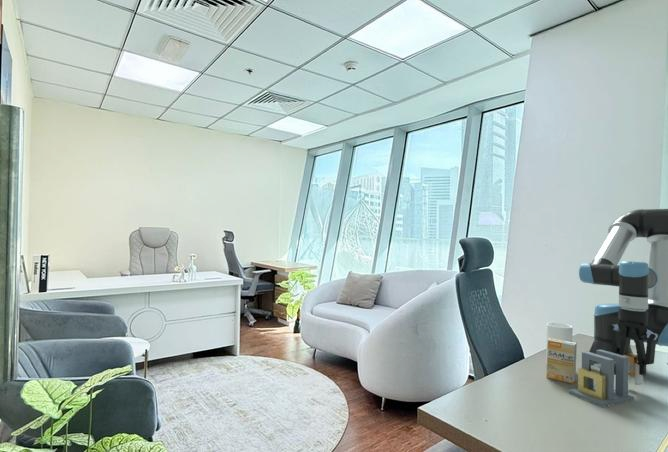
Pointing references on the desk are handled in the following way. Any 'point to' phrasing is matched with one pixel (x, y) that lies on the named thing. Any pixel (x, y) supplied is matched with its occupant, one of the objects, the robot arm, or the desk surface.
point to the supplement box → (561, 360)
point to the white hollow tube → (558, 333)
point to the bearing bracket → (607, 377)
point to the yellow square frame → (600, 383)
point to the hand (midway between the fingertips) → (632, 381)
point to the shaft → (631, 367)
